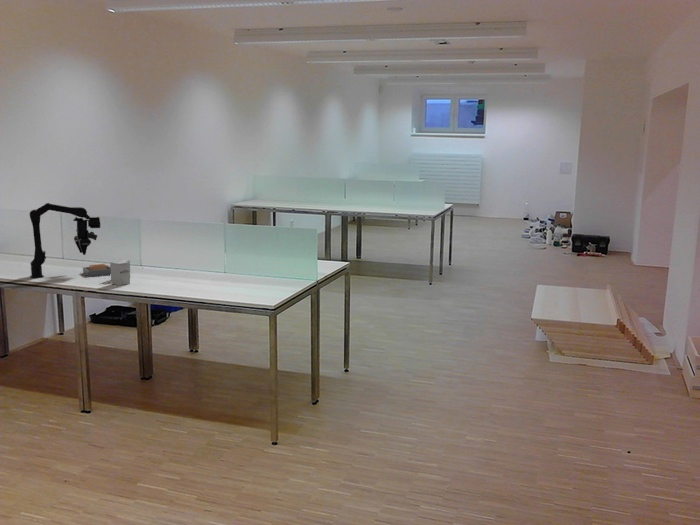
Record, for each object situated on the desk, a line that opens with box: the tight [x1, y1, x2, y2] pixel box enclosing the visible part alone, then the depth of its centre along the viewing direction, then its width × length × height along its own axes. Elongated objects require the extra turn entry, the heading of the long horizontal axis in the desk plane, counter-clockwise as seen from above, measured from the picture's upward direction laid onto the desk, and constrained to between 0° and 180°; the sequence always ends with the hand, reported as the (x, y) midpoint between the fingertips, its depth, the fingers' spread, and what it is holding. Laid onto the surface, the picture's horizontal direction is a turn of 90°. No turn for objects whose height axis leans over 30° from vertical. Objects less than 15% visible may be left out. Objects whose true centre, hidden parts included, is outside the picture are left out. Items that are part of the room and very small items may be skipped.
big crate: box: [82, 264, 111, 278], centre depth 384 cm, size 15×15×4 cm
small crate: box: [88, 263, 107, 271], centre depth 384 cm, size 6×9×4 cm, turn 124°
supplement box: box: [109, 261, 131, 286], centre depth 353 cm, size 7×7×13 cm
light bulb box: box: [109, 259, 131, 271], centre depth 368 cm, size 11×7×11 cm, turn 168°
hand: (82, 253), depth 382 cm, fingers open, 9 cm apart
